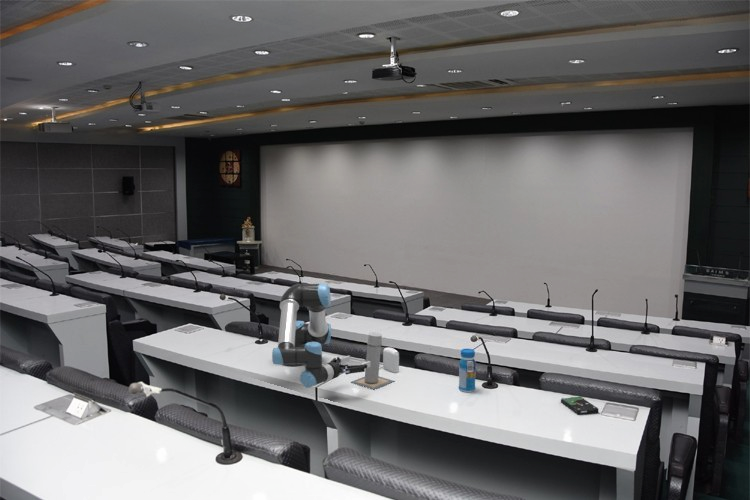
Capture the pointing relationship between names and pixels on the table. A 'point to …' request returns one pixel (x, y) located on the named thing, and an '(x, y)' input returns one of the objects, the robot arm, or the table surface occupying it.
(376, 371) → the water bottle
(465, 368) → the beverage bottle
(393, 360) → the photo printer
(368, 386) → the pad
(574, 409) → the disk drive
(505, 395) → the table surface
